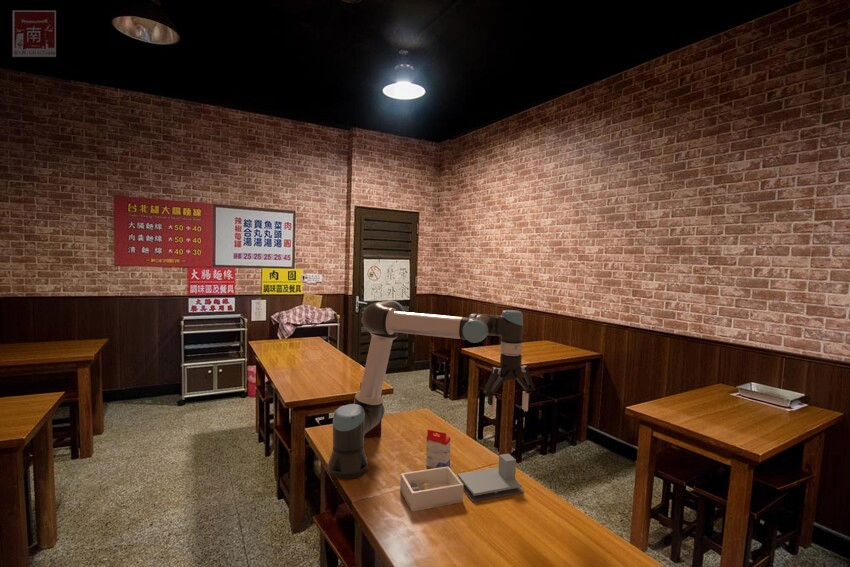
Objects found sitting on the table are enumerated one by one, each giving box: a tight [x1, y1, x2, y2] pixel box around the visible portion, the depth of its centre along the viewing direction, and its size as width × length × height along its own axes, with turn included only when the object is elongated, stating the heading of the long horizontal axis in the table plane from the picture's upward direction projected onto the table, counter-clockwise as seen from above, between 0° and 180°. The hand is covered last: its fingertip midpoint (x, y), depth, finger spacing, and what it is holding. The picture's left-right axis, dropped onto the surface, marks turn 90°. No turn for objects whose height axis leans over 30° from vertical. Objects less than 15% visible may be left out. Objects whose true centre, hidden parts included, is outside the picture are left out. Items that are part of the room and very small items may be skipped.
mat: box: [458, 477, 525, 503], centre depth 150 cm, size 20×15×1 cm
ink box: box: [425, 429, 451, 469], centre depth 163 cm, size 8×5×15 cm, turn 65°
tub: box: [399, 466, 464, 512], centre depth 142 cm, size 18×13×6 cm
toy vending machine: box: [359, 381, 383, 440], centre depth 192 cm, size 9×11×28 cm
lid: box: [456, 453, 523, 496], centre depth 149 cm, size 19×14×9 cm
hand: (508, 411), depth 151 cm, fingers open, 13 cm apart
